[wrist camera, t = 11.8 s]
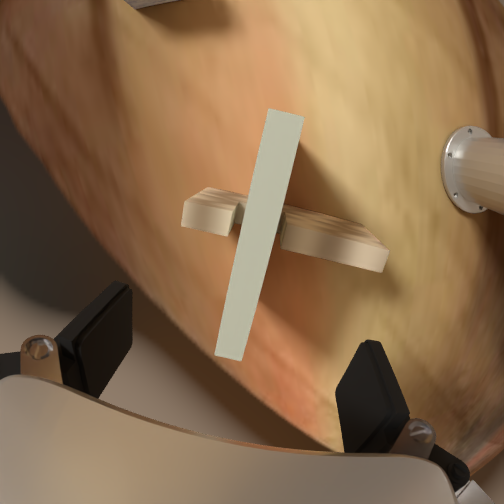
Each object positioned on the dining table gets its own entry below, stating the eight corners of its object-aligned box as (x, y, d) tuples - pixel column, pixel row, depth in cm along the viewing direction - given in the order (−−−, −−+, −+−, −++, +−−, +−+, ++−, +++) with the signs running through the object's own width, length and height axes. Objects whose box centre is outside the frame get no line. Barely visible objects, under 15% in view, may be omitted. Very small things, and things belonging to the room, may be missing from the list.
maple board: (362, 224, 36) (390, 250, 26) (356, 241, 36) (381, 273, 27) (208, 186, 35) (184, 201, 26) (204, 205, 36) (180, 225, 27)
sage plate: (270, 127, 32) (268, 108, 17) (290, 131, 32) (304, 116, 17) (235, 278, 39) (214, 355, 24) (253, 282, 39) (241, 361, 24)
